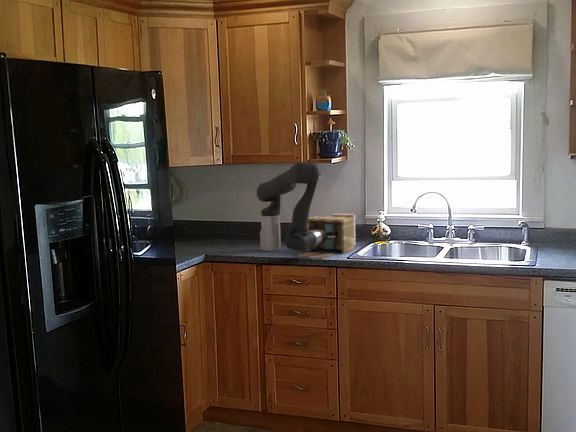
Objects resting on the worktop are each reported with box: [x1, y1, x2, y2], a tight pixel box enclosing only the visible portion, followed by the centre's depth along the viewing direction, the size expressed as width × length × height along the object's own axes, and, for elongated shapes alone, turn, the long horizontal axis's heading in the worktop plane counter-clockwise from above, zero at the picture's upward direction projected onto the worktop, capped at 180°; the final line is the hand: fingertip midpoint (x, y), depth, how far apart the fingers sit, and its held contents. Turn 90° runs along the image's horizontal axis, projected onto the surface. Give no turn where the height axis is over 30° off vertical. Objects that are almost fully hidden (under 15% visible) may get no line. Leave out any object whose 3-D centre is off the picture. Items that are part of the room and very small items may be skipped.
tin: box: [325, 223, 336, 250], centre depth 342 cm, size 5×5×12 cm
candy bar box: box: [331, 213, 357, 248], centre depth 354 cm, size 11×5×16 cm, turn 74°
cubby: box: [306, 215, 355, 255], centre depth 342 cm, size 20×11×16 cm, turn 59°
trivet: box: [295, 251, 335, 260], centre depth 330 cm, size 14×12×1 cm
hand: (331, 233), depth 343 cm, fingers closed on tin, 4 cm apart
